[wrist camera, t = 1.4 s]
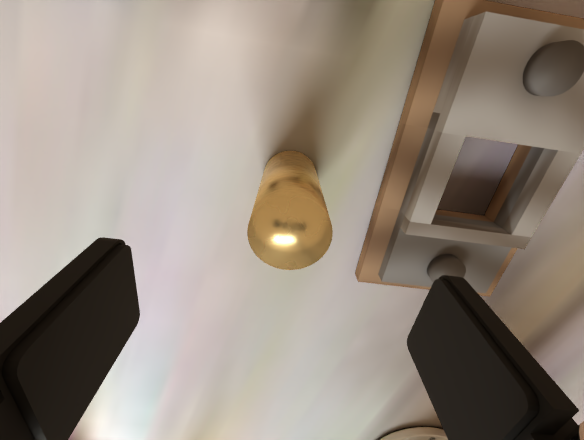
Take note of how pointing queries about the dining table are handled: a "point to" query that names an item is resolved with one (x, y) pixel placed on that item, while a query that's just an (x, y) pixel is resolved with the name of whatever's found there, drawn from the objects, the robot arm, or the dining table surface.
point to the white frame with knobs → (485, 125)
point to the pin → (289, 214)
